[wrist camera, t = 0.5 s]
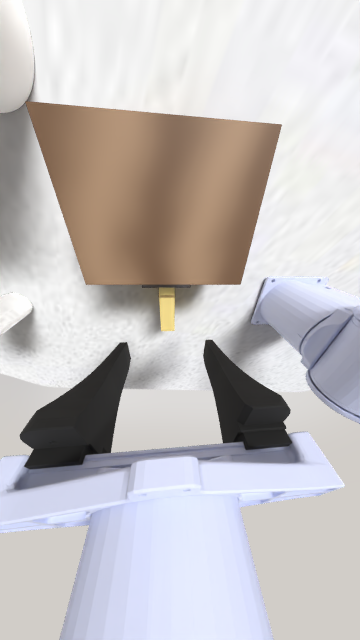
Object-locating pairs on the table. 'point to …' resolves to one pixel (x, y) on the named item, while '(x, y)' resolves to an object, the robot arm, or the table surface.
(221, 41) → the table surface
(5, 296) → the milkshake
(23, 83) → the cup
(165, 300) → the ticket
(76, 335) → the table surface
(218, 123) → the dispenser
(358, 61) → the table surface
